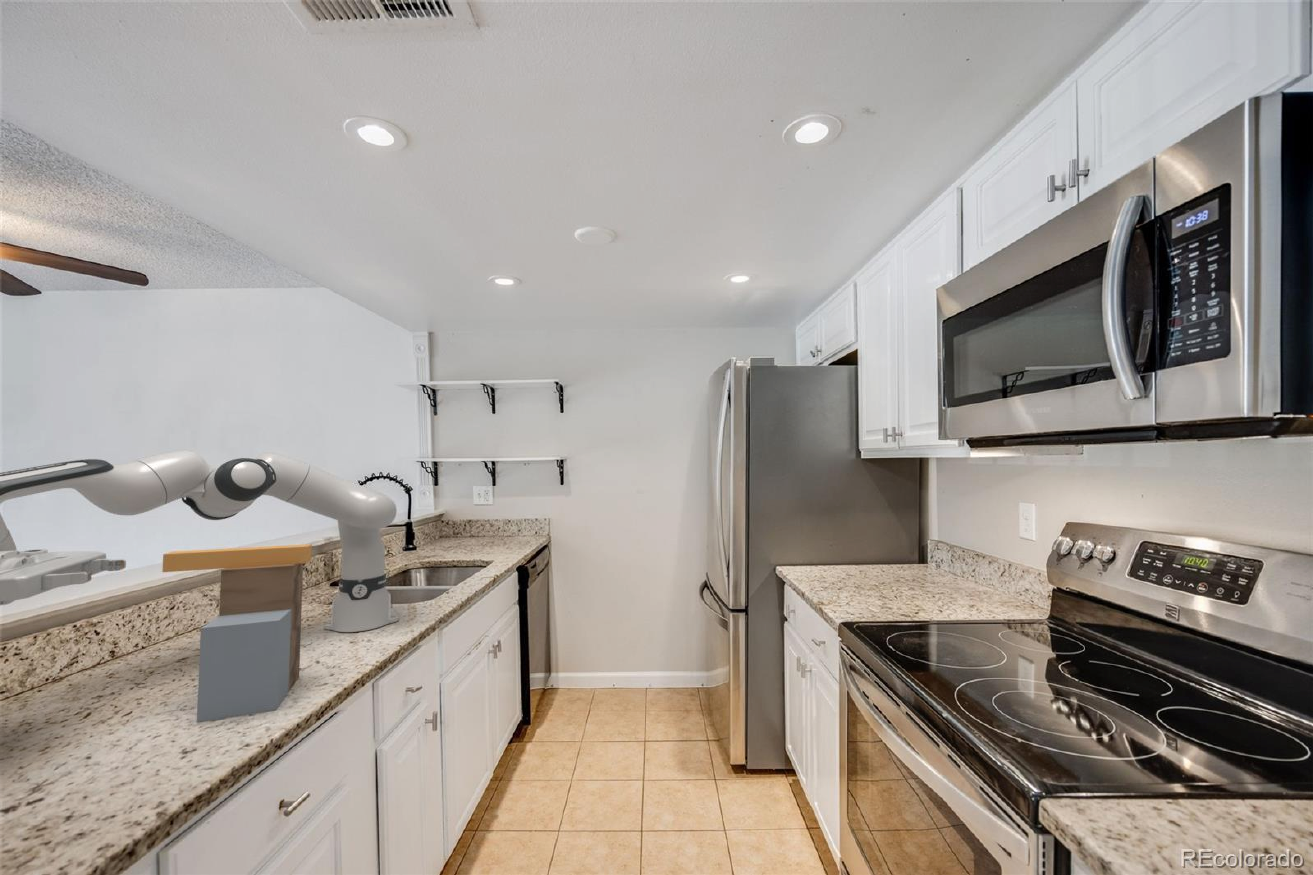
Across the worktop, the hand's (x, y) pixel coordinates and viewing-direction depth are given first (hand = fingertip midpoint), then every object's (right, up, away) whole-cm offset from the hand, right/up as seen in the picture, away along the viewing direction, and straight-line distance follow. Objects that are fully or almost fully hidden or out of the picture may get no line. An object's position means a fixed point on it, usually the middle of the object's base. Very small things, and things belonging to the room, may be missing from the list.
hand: (107, 570), depth 88 cm
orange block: (+10, -3, +17) cm, 20 cm away
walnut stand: (+13, -29, +17) cm, 37 cm away
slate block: (+17, -29, +10) cm, 35 cm away
